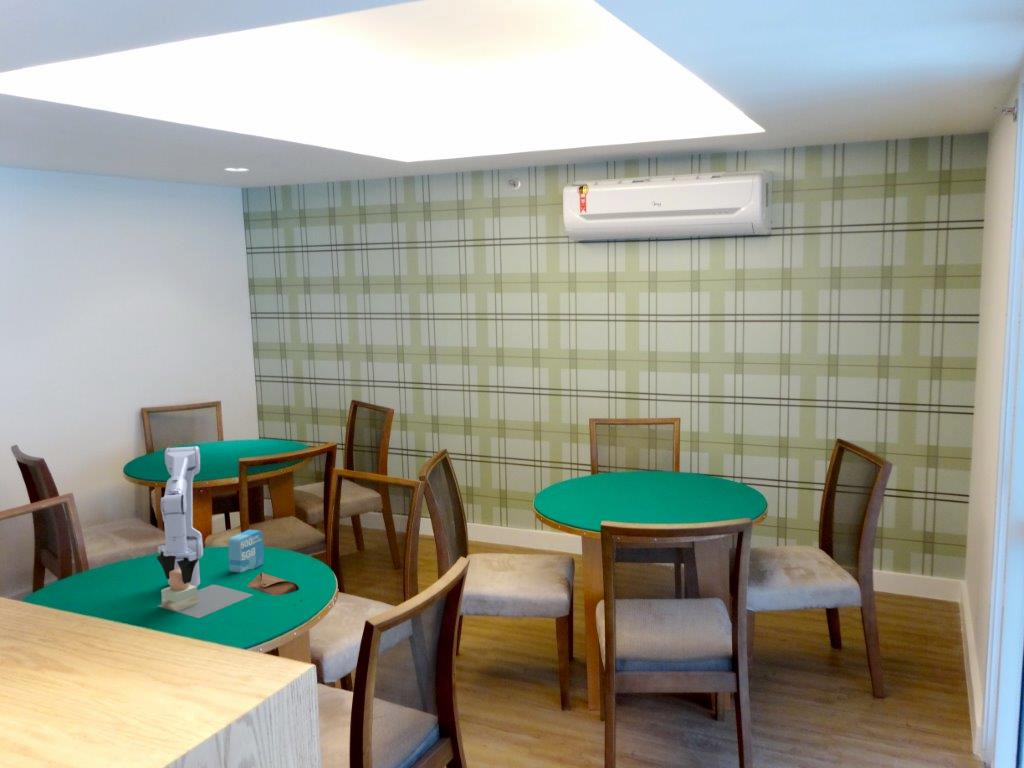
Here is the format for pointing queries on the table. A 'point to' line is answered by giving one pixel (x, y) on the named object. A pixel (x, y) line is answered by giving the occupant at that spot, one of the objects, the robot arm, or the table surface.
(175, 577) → the terracotta cylinder
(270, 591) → the sunglasses case
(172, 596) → the sage top slab
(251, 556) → the data package
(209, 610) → the slate board
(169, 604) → the birch base slab
